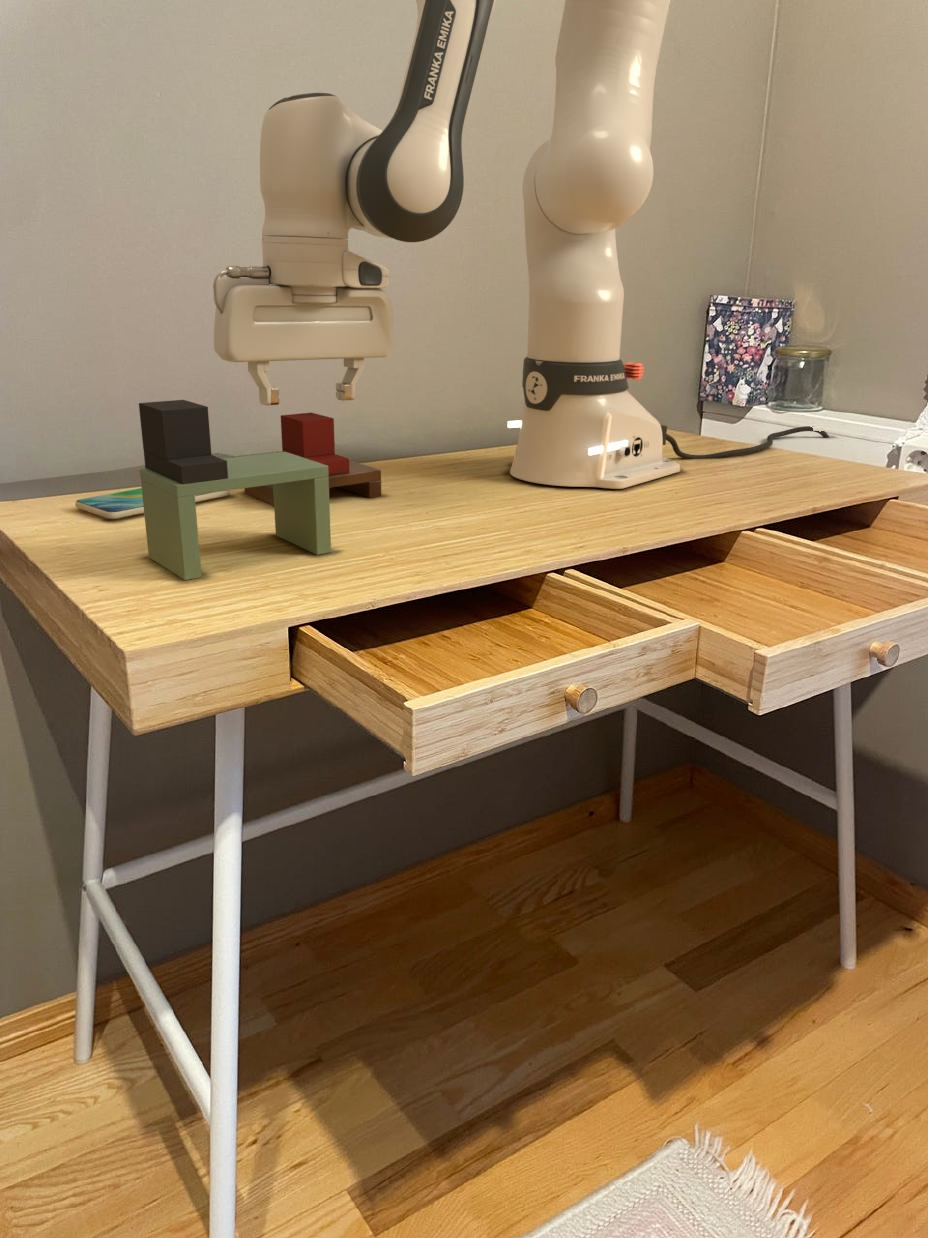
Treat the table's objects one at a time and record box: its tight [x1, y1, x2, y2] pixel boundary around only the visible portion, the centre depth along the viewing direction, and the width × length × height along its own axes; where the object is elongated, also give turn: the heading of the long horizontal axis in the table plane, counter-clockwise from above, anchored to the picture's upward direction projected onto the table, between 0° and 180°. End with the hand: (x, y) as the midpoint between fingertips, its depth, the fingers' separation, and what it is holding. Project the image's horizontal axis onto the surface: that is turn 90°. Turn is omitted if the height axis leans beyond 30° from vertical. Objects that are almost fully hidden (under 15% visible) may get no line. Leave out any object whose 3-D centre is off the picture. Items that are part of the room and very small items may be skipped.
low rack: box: [243, 459, 382, 506], centre depth 109 cm, size 12×10×3 cm
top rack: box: [139, 451, 332, 581], centre depth 86 cm, size 14×8×8 cm, turn 128°
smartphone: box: [74, 487, 230, 520], centre depth 104 cm, size 7×1×15 cm
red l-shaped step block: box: [280, 412, 350, 475], centre depth 108 cm, size 4×8×6 cm, turn 38°
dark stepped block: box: [138, 399, 228, 484], centre depth 81 cm, size 4×8×6 cm, turn 38°
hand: (308, 402), depth 106 cm, fingers open, 8 cm apart
